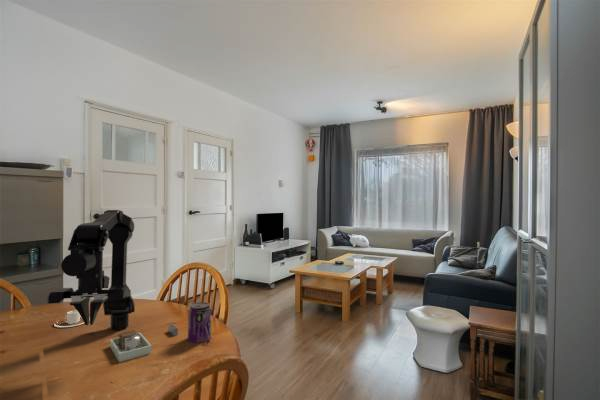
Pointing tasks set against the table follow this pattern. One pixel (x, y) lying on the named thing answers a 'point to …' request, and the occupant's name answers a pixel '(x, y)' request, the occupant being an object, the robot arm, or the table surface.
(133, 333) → the walnut block
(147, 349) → the shallow open crate
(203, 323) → the beverage can
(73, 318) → the candle holder
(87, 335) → the table surface
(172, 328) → the buffer stop
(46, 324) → the table surface
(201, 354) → the table surface
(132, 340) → the metal part
